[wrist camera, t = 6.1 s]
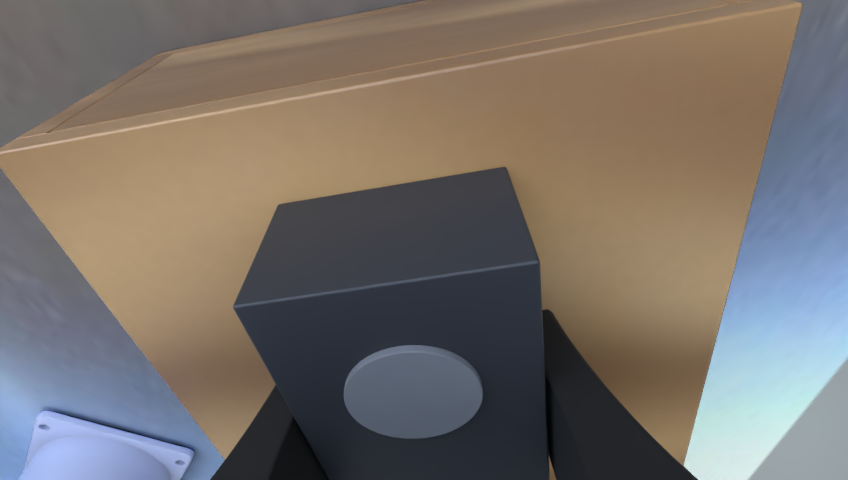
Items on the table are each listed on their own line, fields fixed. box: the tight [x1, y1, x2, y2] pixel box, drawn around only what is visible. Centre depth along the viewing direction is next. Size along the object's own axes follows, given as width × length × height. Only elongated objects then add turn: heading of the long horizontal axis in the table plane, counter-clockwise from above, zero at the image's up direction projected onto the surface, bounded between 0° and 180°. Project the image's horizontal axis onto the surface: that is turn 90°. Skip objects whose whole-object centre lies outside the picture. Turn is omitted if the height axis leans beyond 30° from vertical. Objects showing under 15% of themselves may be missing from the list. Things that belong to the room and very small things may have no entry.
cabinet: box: [0, 0, 803, 480], centre depth 16 cm, size 15×14×7 cm
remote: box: [233, 167, 550, 480], centre depth 11 cm, size 9×5×3 cm, turn 10°
